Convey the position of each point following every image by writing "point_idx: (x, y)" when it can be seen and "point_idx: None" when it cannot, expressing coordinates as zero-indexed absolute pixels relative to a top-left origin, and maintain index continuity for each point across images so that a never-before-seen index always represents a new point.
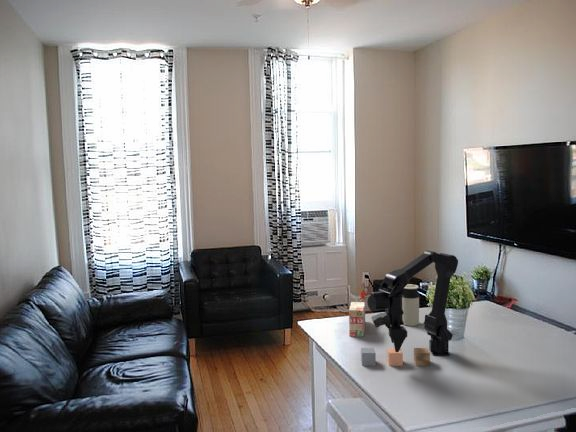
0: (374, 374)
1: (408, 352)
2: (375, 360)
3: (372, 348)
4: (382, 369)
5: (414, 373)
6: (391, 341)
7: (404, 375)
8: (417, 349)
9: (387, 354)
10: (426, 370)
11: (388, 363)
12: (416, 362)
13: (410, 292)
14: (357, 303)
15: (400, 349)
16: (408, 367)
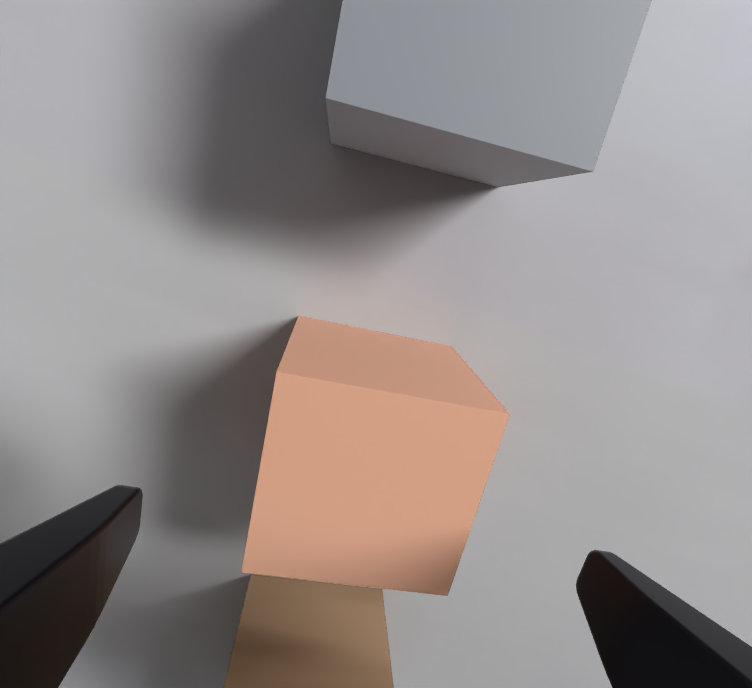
0: (34, 8)
1: (567, 598)
2: (329, 128)
3: (580, 126)
4: (198, 193)
5: (57, 505)
6: (620, 560)
7: (2, 393)
8: None
9: (450, 370)
10: (127, 622)
11: (352, 327)
12: (243, 605)
13: None
14: None
15: (387, 581)
16: (218, 496)
